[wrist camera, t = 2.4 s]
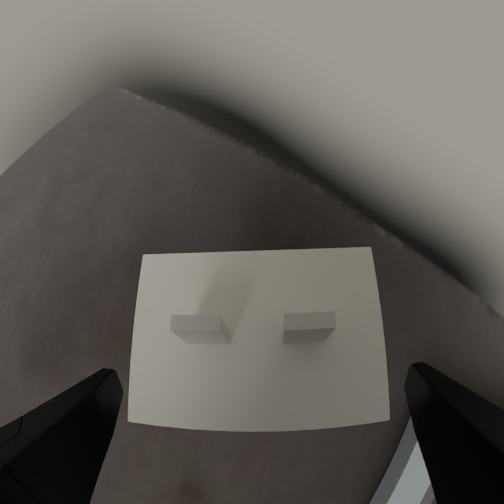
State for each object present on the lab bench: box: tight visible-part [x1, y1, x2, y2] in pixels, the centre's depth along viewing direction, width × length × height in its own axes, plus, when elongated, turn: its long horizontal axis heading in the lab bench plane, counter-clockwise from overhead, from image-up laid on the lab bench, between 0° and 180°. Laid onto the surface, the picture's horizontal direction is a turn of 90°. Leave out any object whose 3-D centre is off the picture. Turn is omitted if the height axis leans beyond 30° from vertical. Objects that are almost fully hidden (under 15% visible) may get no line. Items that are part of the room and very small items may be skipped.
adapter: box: [128, 247, 390, 432], centre depth 11 cm, size 4×6×13 cm
